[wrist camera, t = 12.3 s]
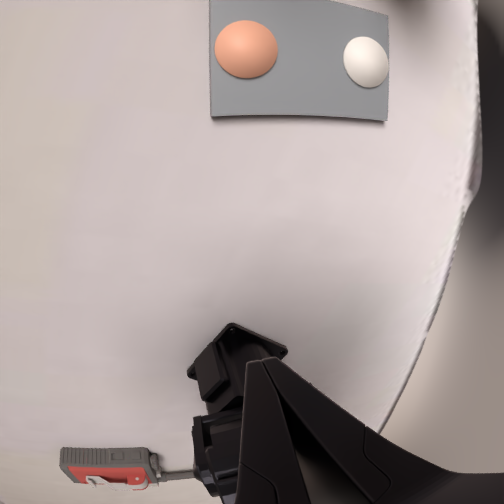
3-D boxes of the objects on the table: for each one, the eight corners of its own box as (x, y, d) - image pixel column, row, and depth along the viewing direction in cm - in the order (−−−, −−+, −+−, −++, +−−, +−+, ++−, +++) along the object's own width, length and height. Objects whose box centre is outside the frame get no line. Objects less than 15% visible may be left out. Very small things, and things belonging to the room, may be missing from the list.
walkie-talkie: (75, 472, 31) (214, 466, 36) (75, 498, 27) (221, 493, 32) (50, 443, 27) (211, 437, 32) (47, 473, 23) (219, 468, 28)
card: (382, 119, 20) (389, 121, 19) (210, 116, 17) (212, 116, 17) (382, 17, 16) (389, 15, 16) (209, -9, 14) (211, -13, 13)
